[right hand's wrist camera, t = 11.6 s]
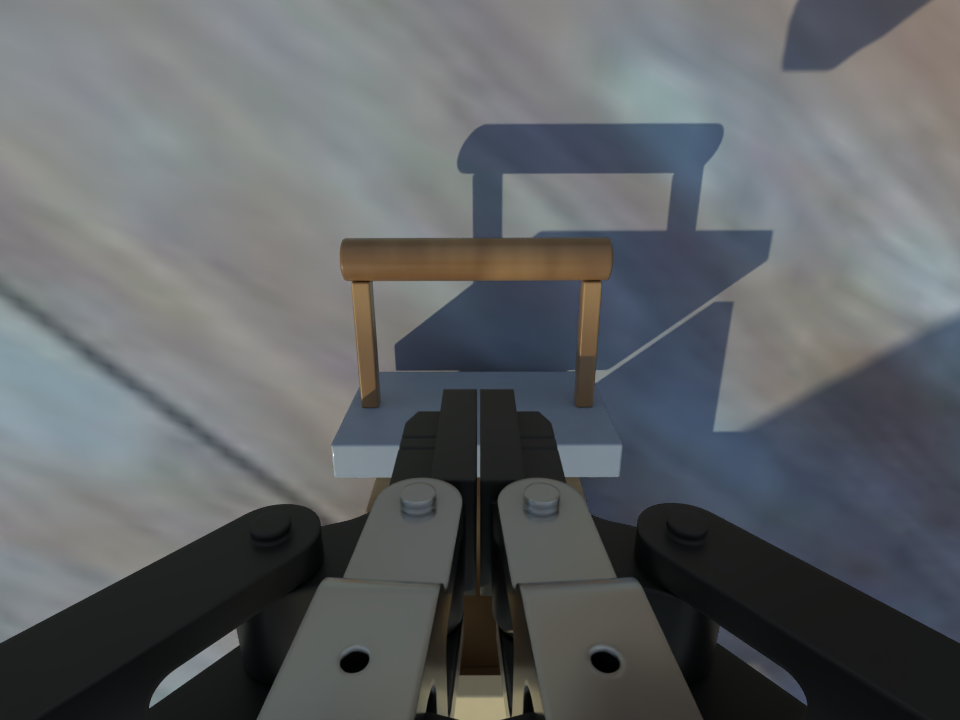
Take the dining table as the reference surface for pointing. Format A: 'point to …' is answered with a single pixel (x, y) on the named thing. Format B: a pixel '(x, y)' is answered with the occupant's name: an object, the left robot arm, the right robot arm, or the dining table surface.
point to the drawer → (476, 375)
